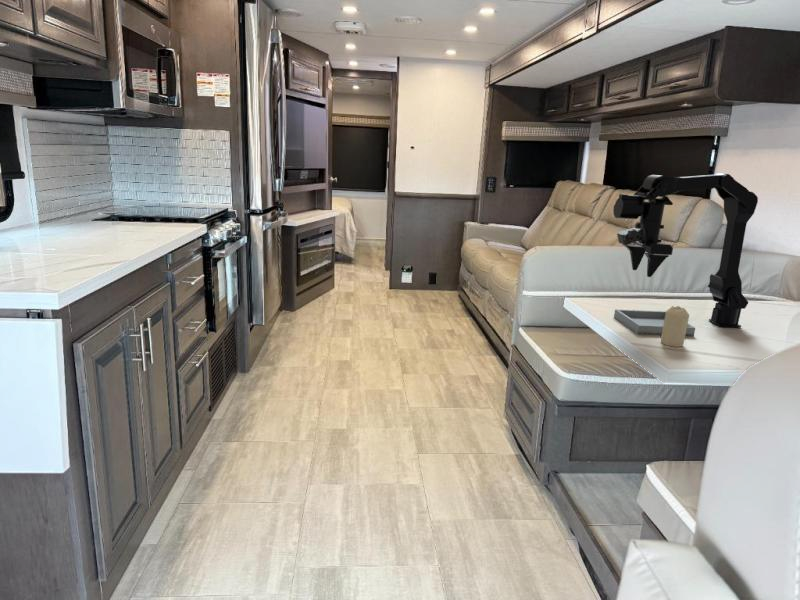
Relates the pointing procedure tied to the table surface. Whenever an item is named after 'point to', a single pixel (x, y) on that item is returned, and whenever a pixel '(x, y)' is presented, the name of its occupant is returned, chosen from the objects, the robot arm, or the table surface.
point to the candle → (675, 326)
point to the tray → (646, 321)
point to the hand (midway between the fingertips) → (641, 273)
